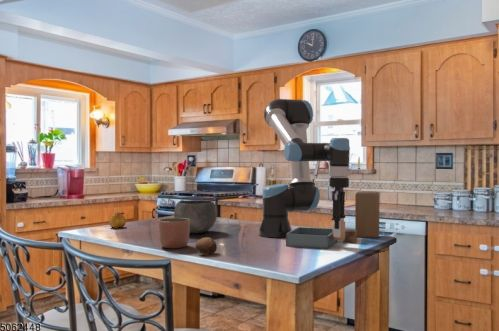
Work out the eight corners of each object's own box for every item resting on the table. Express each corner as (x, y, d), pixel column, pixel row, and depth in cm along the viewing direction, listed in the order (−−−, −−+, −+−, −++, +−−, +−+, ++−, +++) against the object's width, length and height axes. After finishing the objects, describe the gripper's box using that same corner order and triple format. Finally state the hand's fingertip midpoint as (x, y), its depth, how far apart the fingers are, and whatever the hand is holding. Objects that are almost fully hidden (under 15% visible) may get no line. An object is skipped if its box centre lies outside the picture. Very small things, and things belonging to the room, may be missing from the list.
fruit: (122, 224, 225) (123, 210, 229) (106, 226, 225) (107, 211, 229) (126, 230, 232) (128, 216, 236) (111, 232, 232) (112, 218, 236)
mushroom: (195, 242, 170) (200, 230, 167) (215, 250, 171) (220, 238, 168) (190, 256, 163) (196, 244, 160) (211, 264, 164) (216, 252, 161)
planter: (175, 251, 170) (175, 222, 170) (152, 247, 177) (151, 220, 177) (196, 245, 181) (196, 219, 180) (173, 243, 187) (173, 217, 187)
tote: (286, 246, 179) (285, 233, 179) (298, 238, 197) (298, 227, 197) (328, 249, 173) (328, 236, 173) (337, 240, 191) (337, 229, 191)
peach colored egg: (331, 239, 175) (331, 222, 175) (333, 237, 180) (333, 220, 180) (343, 240, 173) (343, 222, 173) (346, 238, 178) (346, 221, 178)
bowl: (165, 234, 208) (165, 202, 208) (188, 228, 227) (187, 199, 227) (204, 237, 200) (204, 204, 200) (224, 230, 219) (223, 200, 219)
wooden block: (379, 235, 205) (379, 191, 205) (378, 238, 196) (378, 193, 195) (357, 233, 208) (357, 191, 208) (355, 237, 199) (355, 192, 199)
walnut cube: (343, 242, 187) (343, 230, 187) (345, 240, 191) (345, 229, 191) (355, 243, 185) (355, 231, 185) (357, 241, 190) (357, 229, 189)
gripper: (344, 178, 166) (343, 240, 167) (352, 175, 182) (351, 232, 183) (324, 178, 169) (324, 239, 170) (334, 175, 185) (333, 230, 186)
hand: (338, 235), depth 177 cm, fingers closed on peach colored egg, 5 cm apart
